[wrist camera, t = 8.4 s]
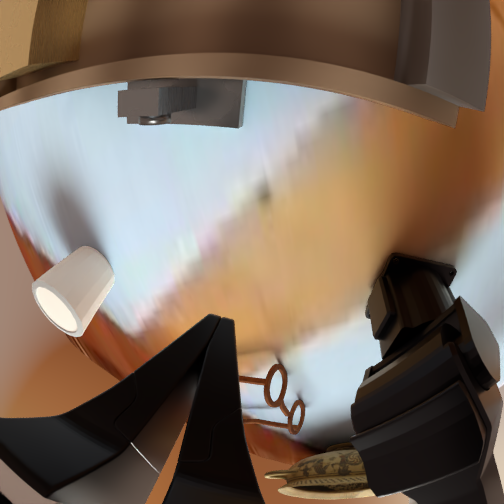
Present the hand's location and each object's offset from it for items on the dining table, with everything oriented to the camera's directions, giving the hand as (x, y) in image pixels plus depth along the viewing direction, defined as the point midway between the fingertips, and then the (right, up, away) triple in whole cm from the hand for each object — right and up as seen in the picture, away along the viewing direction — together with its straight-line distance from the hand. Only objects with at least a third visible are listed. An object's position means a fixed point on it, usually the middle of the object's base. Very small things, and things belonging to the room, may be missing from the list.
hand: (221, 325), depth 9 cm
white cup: (-16, +1, +18) cm, 24 cm away
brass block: (-12, +17, +1) cm, 20 cm away
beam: (-4, +16, 0) cm, 16 cm away
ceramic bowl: (+19, -35, +32) cm, 51 cm away
